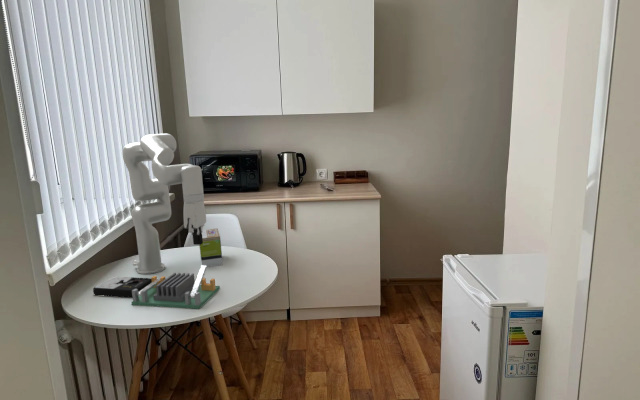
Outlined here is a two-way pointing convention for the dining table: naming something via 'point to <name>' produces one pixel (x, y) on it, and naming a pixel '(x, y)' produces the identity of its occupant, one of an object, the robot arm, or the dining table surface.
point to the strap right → (198, 281)
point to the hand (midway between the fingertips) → (198, 243)
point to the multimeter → (121, 286)
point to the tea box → (211, 248)
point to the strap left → (149, 286)
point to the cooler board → (176, 292)
